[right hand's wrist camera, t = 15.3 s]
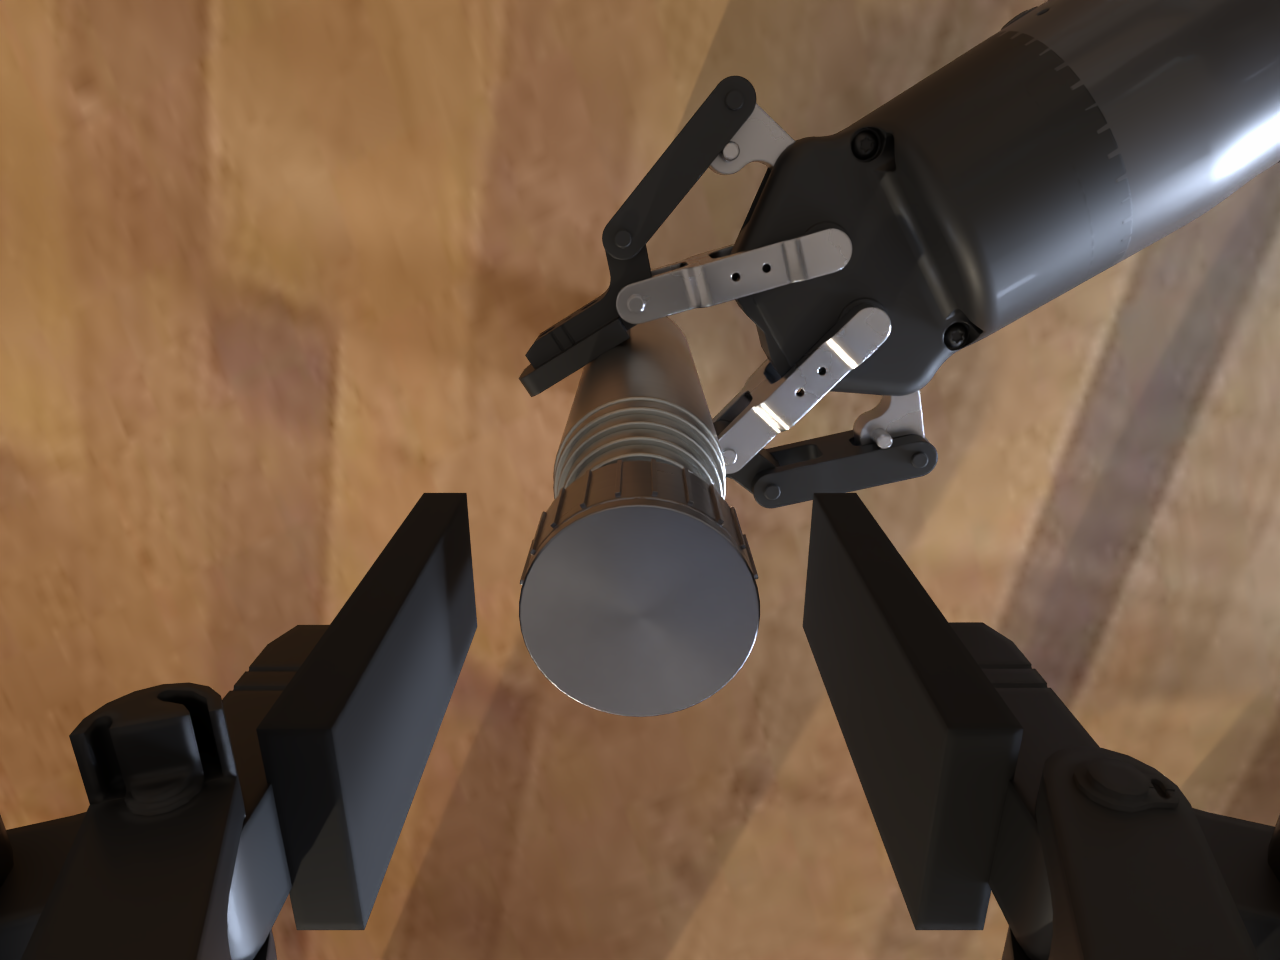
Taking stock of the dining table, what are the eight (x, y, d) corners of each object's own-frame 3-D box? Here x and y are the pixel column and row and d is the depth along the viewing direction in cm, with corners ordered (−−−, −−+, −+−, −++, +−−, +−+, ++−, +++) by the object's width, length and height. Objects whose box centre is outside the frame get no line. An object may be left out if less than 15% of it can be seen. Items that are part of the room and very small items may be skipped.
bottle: (610, 423, 32) (572, 731, 14) (573, 330, 31) (477, 534, 13) (704, 389, 32) (791, 662, 13) (670, 293, 30) (716, 451, 12)
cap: (791, 538, 14) (815, 595, 12) (659, 684, 16) (662, 759, 14) (618, 412, 14) (614, 451, 12) (491, 576, 15) (467, 638, 13)
